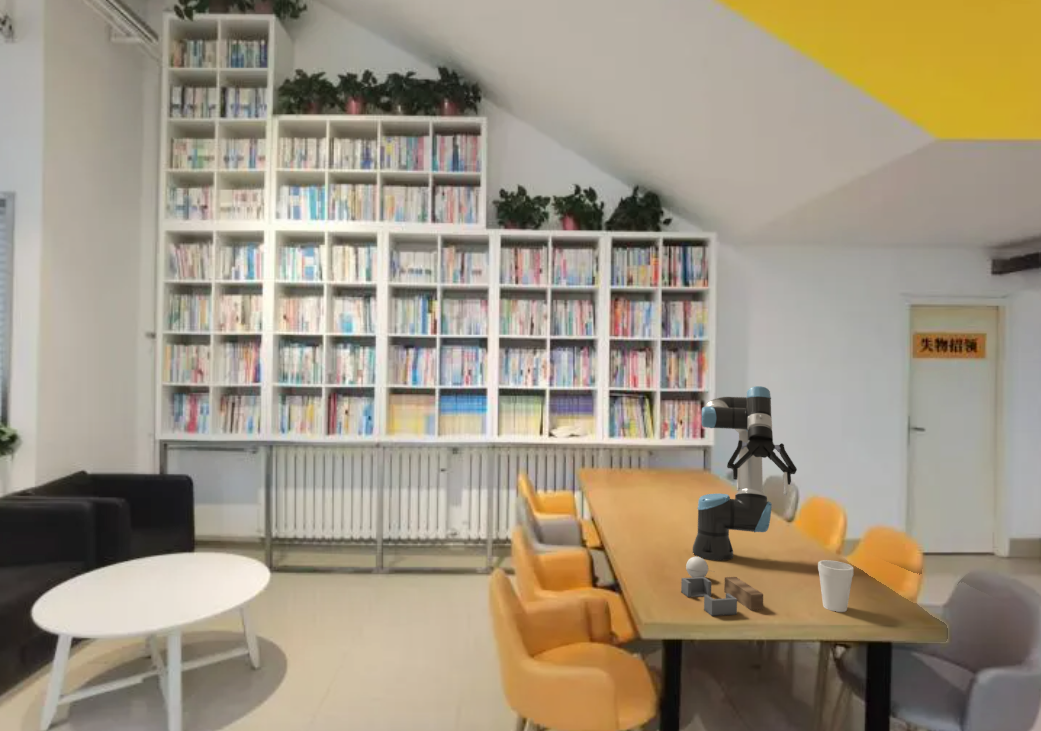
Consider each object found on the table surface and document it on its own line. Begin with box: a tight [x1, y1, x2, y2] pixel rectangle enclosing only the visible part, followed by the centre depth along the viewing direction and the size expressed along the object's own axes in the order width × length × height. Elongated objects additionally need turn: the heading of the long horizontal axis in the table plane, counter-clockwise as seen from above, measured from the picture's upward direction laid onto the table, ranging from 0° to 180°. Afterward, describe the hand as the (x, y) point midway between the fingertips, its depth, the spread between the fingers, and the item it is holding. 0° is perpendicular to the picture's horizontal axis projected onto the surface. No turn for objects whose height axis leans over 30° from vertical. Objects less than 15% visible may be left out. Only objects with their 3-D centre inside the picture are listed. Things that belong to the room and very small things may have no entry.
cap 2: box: [703, 593, 738, 617], centre depth 175 cm, size 4×8×4 cm, turn 102°
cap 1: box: [680, 576, 712, 598], centre depth 190 cm, size 4×8×4 cm, turn 102°
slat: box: [723, 576, 764, 612], centre depth 185 cm, size 15×4×5 cm, turn 11°
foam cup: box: [817, 559, 854, 613], centre depth 181 cm, size 10×9×13 cm
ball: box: [685, 556, 715, 578], centre depth 203 cm, size 10×7×7 cm
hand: (762, 491), depth 182 cm, fingers open, 13 cm apart
